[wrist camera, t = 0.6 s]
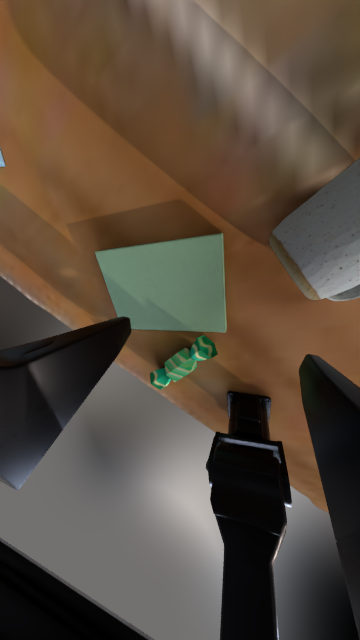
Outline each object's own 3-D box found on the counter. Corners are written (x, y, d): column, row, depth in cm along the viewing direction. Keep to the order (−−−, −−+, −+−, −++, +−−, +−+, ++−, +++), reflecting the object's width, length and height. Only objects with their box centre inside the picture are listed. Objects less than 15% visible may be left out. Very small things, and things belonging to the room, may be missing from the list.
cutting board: (226, 327, 24) (225, 332, 23) (125, 324, 30) (121, 328, 29) (223, 232, 19) (221, 233, 18) (100, 250, 24) (94, 252, 23)
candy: (195, 330, 25) (202, 358, 22) (212, 336, 27) (220, 362, 24) (149, 366, 32) (151, 390, 29) (165, 369, 33) (168, 391, 31)
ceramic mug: (258, 232, 18) (267, 246, 12) (359, 147, 13) (462, 95, 7) (316, 309, 20) (349, 356, 14) (420, 258, 15) (540, 293, 9)
